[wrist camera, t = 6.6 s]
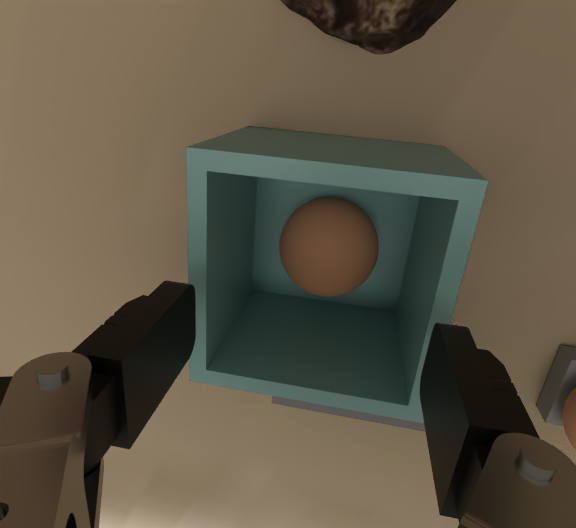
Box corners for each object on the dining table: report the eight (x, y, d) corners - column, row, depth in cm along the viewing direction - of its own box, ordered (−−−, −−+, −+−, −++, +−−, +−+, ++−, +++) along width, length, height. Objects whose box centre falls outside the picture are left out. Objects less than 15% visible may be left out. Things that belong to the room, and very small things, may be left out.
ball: (385, 193, 18) (389, 220, 14) (370, 278, 20) (370, 322, 16) (291, 182, 18) (273, 205, 15) (285, 266, 20) (266, 306, 16)
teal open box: (443, 146, 17) (488, 180, 11) (405, 319, 21) (423, 423, 14) (248, 126, 18) (186, 147, 12) (242, 294, 22) (189, 380, 15)
